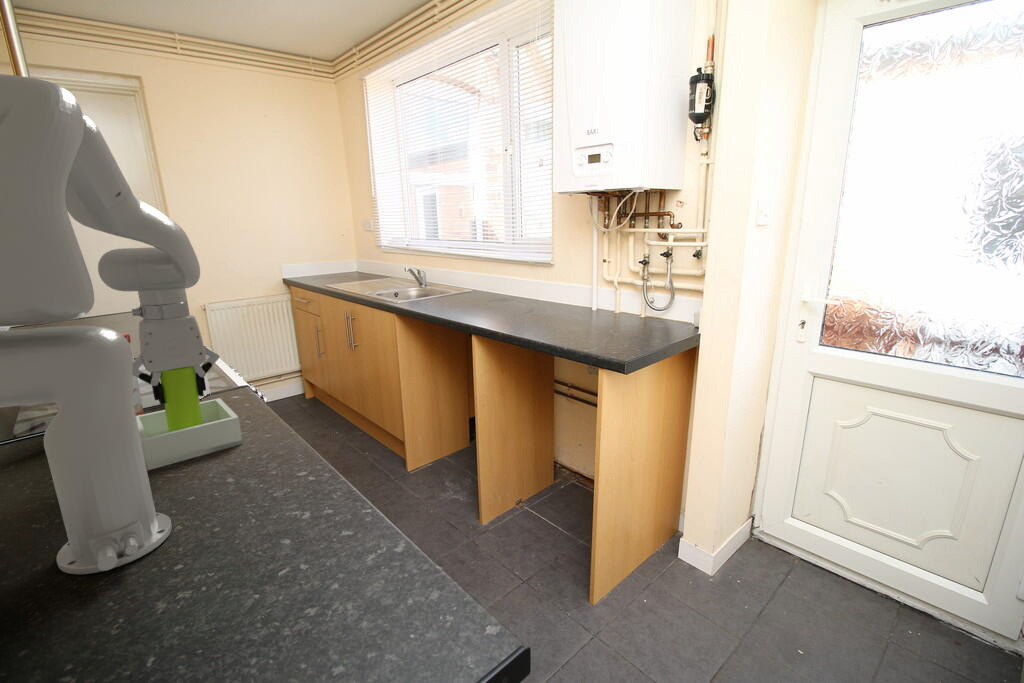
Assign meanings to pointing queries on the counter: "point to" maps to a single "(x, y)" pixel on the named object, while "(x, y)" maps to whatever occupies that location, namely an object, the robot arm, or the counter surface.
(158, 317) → the robot arm
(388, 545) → the counter surface
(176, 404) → the soap dispenser
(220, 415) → the tub
